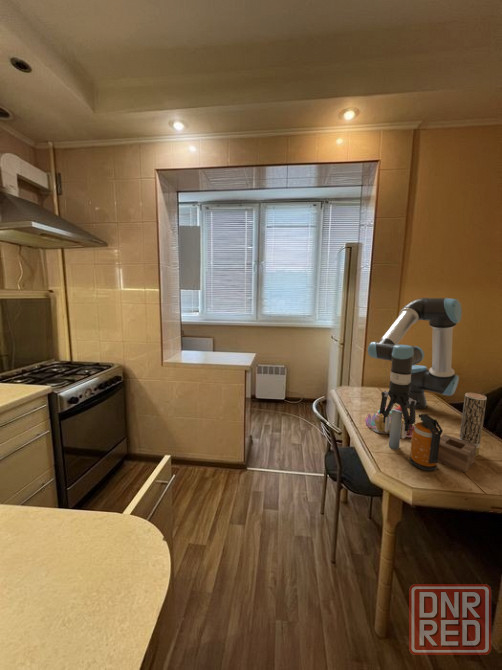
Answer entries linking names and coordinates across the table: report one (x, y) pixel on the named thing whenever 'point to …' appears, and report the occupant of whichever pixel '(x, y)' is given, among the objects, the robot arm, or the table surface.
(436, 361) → the robot arm
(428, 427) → the canister
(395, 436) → the dowel
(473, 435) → the bark covered log
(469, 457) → the hollow walnut box
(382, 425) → the candy landscape model
